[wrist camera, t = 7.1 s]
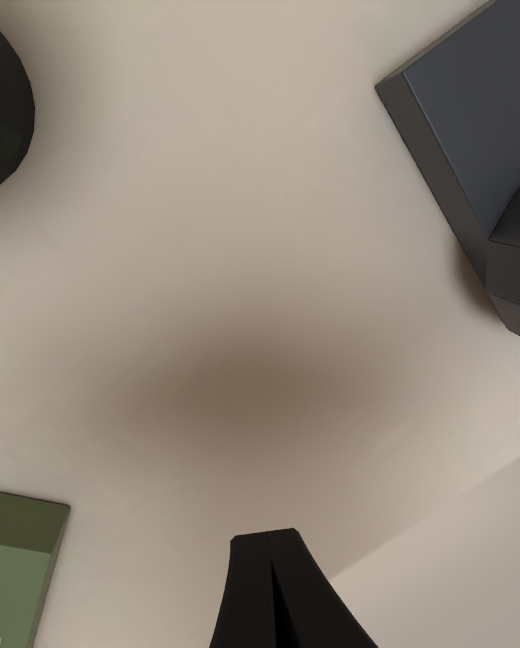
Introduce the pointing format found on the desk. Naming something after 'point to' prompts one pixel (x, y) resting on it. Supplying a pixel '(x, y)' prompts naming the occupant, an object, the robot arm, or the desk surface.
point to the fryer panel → (26, 564)
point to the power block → (470, 139)
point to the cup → (14, 110)
